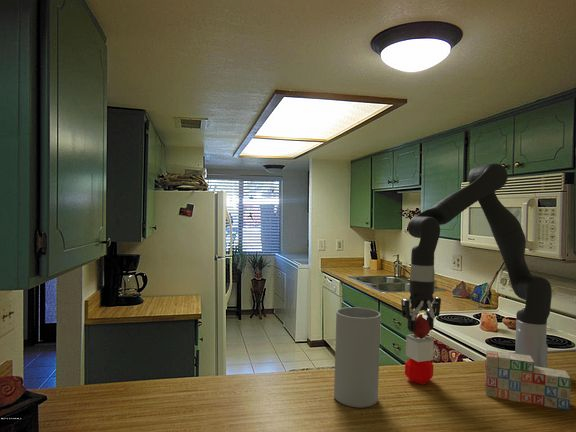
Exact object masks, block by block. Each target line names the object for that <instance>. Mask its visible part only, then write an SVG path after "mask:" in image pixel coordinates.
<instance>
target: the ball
mask: <svg viewBox="0 0 576 432" xmlns="http://www.w3.org/2000/svg"><path fill="white" fill-rule="evenodd" d="M431 361H432V360H429V361H422V362H417V361H415V360H413V359H411V358H409V359H408V360H406V362H405V363H404V375H405V376H406V377H407V379H408V380H409V381H410V383H416V384H420V385H425V384H427V383H428V382H429V381H430V380H431V379H432V378H433V377H434V364H433V363H432V362H431Z"/></svg>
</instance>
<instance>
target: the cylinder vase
mask: <svg viewBox="0 0 576 432" xmlns="http://www.w3.org/2000/svg"><path fill="white" fill-rule="evenodd" d="M335 312H336V318H335V319H336V320H335V348H334V349H335V352H334V380H333V383H334V385H333V387H334V388H333V389H334V391H333V396H334V398H335V400H336V401H338V402H339V403H340V404H341V405H344V406H347V407H349V408H351V407H352V408H358V409H359V408H369V407H372V406H374V405H375V404H376V403H377V402H378V400H379V378H380V377H379V374H380V369H379V368H380V347H381V346H380V343H381V342H380V341H381V338H380V337H381V313H380V311H377V310H375V309H372V308H367V307H366V308H365V307H354V306H353V307H351V306H350V307H340V308H338V309H337V310H336V311H335Z"/></svg>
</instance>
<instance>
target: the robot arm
mask: <svg viewBox="0 0 576 432" xmlns="http://www.w3.org/2000/svg"><path fill="white" fill-rule="evenodd" d="M507 182H508V170H507V169H506V168H505V167H504V165H502V164H499V163H489V164H483V165H479V166H475V167H473V168H472V169H470V171H469V173H468V183H469V184H468V185H465V186H464V187H462V188H460V189H458V190H456V191H454V192H452V193H450V194H449V195H447V196H446V197H443V198H442V199H441V200H439V201H438V202H437V203H436V204H435V205H433V206H432V207H430V208H428V209H425V210H423V211H420V212H419V213H417V214H416V215H414V216H413V217H412V218H411V219H410V220H409V222H408V224H407V231H408V234H409V235H410V236H411V237H413V238H417V239H419V242H418V245H414V246H413V247H412V248H411V252H410V253H411V255H410V256H411V258H410V263H411V264H410V269H409V293H410V295H409V298H402V299H401V300H400V301H401V317H402V318H405V319H407V330H408V331H409V332H410V333H413V332H415V320H414V319H415V318H417V315H418V314H419V313H420V312H423V311H424V313H425V315H426V316H427V317H426V320H427V321H428V323H429V325H430V331H433V330H434V326H435V325H434V322H435V318H436V317H439V316H440V312H441V305H442V304H441V303H442V298H441V297H438V296H434V293H435V252H436V249H437V245H438V243H439V239H440V237H441V236H440V234H441V226H443V225H446V224H448V223H450V222H451V221H452V220H454V219H455V218H457V216H459V215H460V214H462V213H463V212H464V211H465V210H466V209H468V208H469V207H471V206H473V204H475V203H477V202H478V203H479V205H480V207H481V210H482V211H483V213H484V216H485V219H486V221H487V223H488V225H489V227H490V230H491V233H492V236H493V238H494V241H495V243H496V245H497V247H498V249H499V252H500V256H501V258H502V261H503V263H504V265H505V267H506V268H505V269H506V270H507V274H508V278H509V281H510V285H511V289H512V291H513V293H514V295H515V296H517V298H519V299H521V300H524V301H525V307H524V309H520V310H518V311H517V312H516V314H515V315H516V317H515V318H516V319H515V321H516V323H515V324H516V325H515V347H514V348H515V349H514V350H515V351H514V354H521V355H529V356H531V358H532V359H533V361H534V366H536V367H543V368H548V352H549V351H548V348H549V347H548V346H549V344H547V328H548V327H547V326H548V318H549V316H550V313H551V307H552V306H551V305H552V295H553V294H552V292H553V291H552V290H553V289H552V286H551V283H550V281H549V280H548V279H547V278H545V277H541V276H538V275H534V274H532V273H531V271H530V269H529V267H528V265H527V262H526V259H525V257H526V255H525V254H526V253H525V252H526V247H527V240H526V235H525V232H524V231H523V228H522V225H521V223H520V221H519V219H518V218H517V217H516V216H515V215H514V214H513V212H511V211H510V210H509V209H508V208H507V207H506V206H505V205H503V203H502V202H501V201H500V199H499V198H498V196H497V194H496V191H498V190H501V189H502V188H503V187H504V186H505V185H506V184H507Z"/></svg>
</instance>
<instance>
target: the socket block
mask: <svg viewBox="0 0 576 432" xmlns="http://www.w3.org/2000/svg"><path fill="white" fill-rule="evenodd" d="M434 340H435V338H433V337H431V336H428V335H426V336H425V337H424V338H423V339H420V338H418V337H417V336H415V335H414V334H413V333H412V334H406V335H405V357H408V358H409V359H410V358H411V359H413V360H415V361H417V362H422V361H429V360H430V361H434V350H435V349H434Z"/></svg>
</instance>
